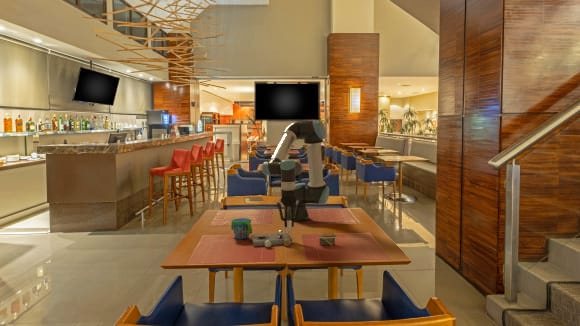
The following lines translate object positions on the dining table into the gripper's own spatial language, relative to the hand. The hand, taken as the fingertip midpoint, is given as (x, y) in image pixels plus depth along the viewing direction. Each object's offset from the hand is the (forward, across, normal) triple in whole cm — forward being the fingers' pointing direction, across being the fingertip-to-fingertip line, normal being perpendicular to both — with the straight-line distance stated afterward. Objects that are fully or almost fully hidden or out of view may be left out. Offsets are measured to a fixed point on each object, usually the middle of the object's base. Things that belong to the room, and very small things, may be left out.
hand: (289, 233), depth 230 cm
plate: (+4, -10, 0) cm, 10 cm away
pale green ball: (+2, -13, -9) cm, 16 cm away
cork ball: (+2, -3, -9) cm, 10 cm away
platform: (+5, +18, -13) cm, 22 cm away
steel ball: (0, -5, 0) cm, 5 cm away
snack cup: (+4, -24, +12) cm, 28 cm away
